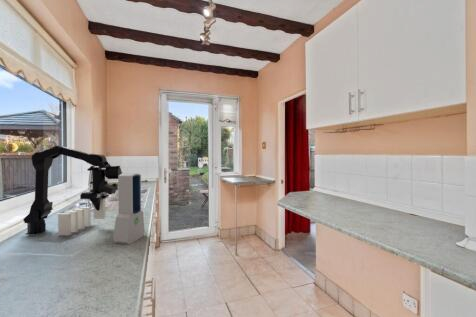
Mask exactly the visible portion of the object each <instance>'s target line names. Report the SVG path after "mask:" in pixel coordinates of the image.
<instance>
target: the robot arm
mask: <svg viewBox="0 0 476 317" xmlns="http://www.w3.org/2000/svg"><path fill="white" fill-rule="evenodd" d="M61 155H62V156H66V157H70V158H74V159H77V160H81V161H83V162H85V163H87V164H88V165H90V167H89V168H87V169H86V170H87V171H91V180H92V181H89V184H90V185H92V189H90V191H85V192H82V193H81V194H80V195H79V196H80V200H89V201H90V202H91V204H93V208H94V207H95V208H96V210H99V208H100V200H101V199H105V200H106V199H107V198H108V197H109V196H110V195H112V194H113V195H114V194H115V193H117V192H116V191H118V183H112V184H109V182H108V180H118V176H119V175H120V174H123V171H122V168H121V165H111V164H110V163H109V162H108V160H107V156H105V155H104V154H97V153H89V152H84V151H81V150H76V149H73V148H70V147H66V146H64V145H55V146H53V147H51V148H47V149H45V150H42V151H36V152H34V153H33V154H32V155H31V164H32V166H33V168H34V171H35V183H34V186H35V187H34V200H33V202H32V203H31V206H30V209H29V213H28V214H27V215H26V216H25V217H24V218H23V219H22V220H23V223H24V224H27V232H26V233H24V235H39V234H42V233H44V232H45V233H46V232H47V231H48V229H46V228H47V227H46V225H47V224H46V219H47V218H48V216H49V215H50V214H51V213H52V210H54V209H53V201H49V198H48V194H49V193H48V191H49V172H50V168H51V167H52V166H53V161H54V160H55V159H57V158H58V157H59V156H61ZM106 179H107V180H106Z"/></svg>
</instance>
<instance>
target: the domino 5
mask: <svg viewBox="0 0 476 317" xmlns="http://www.w3.org/2000/svg"><path fill="white" fill-rule="evenodd" d="M93 219H94V220H98V219H99V220H103V219H106V199H101V200H100V208H99V210H96V208H95V207H94V206H93Z"/></svg>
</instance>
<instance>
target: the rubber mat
mask: <svg viewBox="0 0 476 317" xmlns="http://www.w3.org/2000/svg"><path fill="white" fill-rule="evenodd" d="M98 226H99V225H98V224H97V225H96V224H91V226H89V227H85V229H78V232H71V235H58V232H55V233H53V234H51V235H48V236H45V237H43V238H40V239H38V240H36V242H48V243H49V242H50V243H51V242H52V243H56V242H57V243H62V242H64V241H66V240H69V239H71V238H73V237H75V236H78V235H80V234H83V233H85V232H87V231H89V230H91V229H93V228H94V229H95V227H98Z"/></svg>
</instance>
